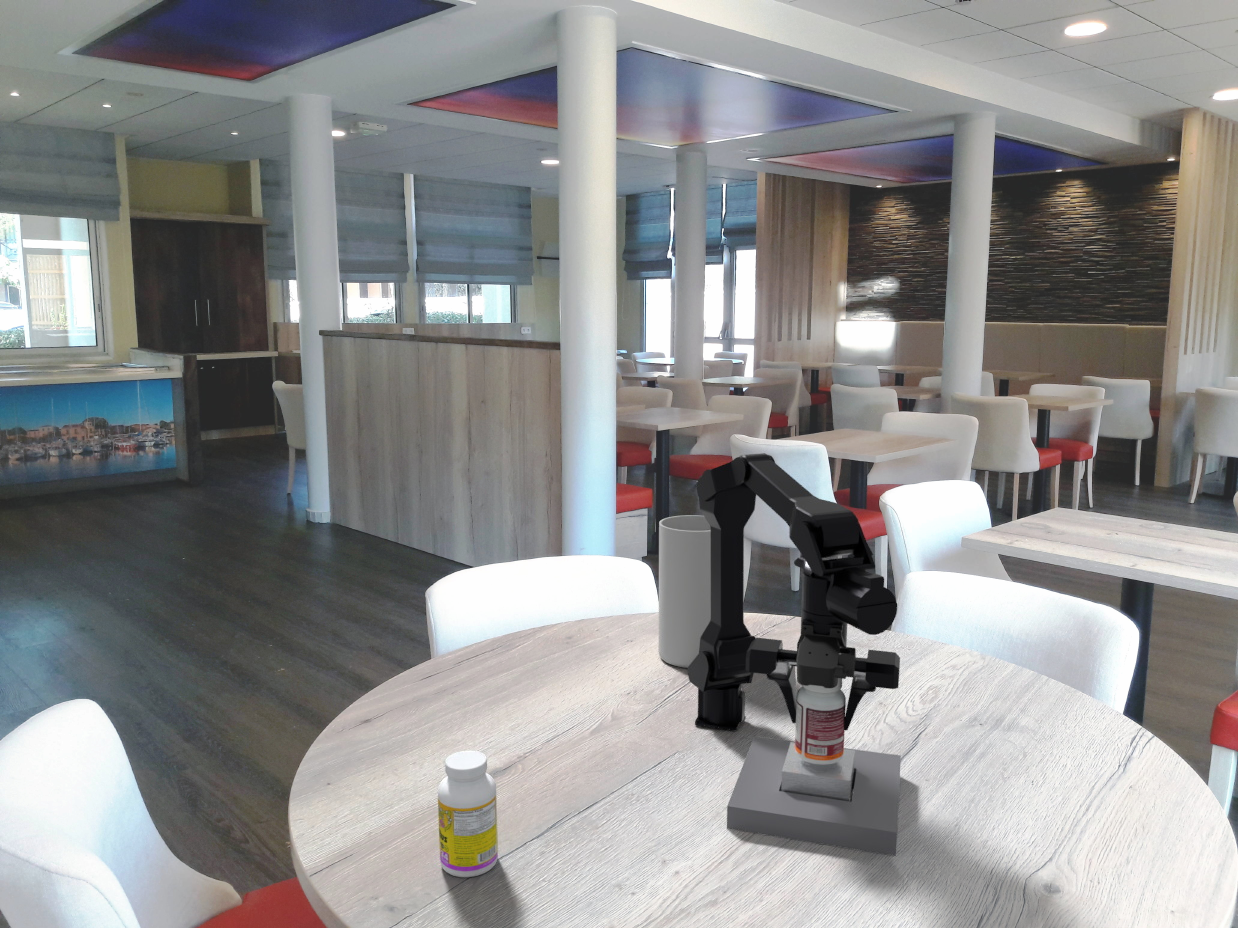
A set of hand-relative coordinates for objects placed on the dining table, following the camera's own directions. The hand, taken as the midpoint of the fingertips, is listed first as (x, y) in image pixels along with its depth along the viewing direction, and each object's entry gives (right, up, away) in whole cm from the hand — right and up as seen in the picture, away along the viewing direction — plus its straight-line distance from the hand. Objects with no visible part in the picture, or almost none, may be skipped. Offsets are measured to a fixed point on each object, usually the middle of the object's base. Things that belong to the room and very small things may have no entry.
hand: (819, 725), depth 123 cm
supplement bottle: (-43, -13, -12) cm, 46 cm away
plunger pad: (0, -8, +1) cm, 8 cm away
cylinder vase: (-12, -2, +52) cm, 53 cm away
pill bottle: (0, -4, +1) cm, 4 cm away
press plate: (0, -10, +2) cm, 10 cm away
